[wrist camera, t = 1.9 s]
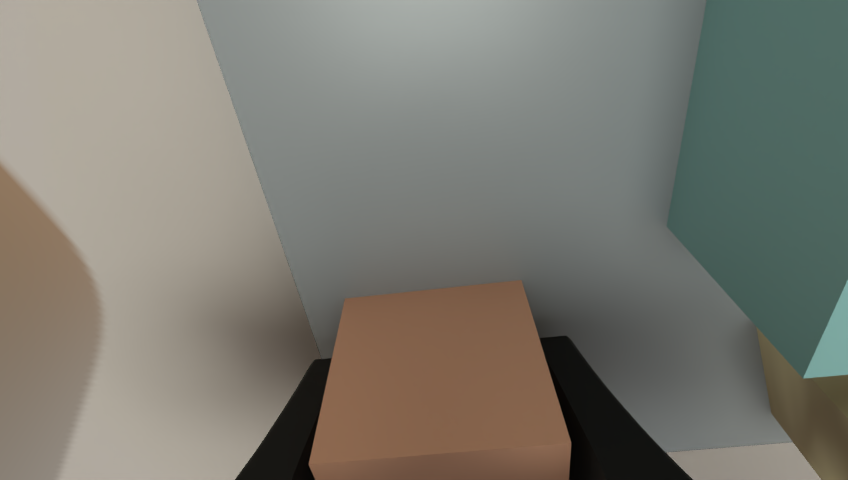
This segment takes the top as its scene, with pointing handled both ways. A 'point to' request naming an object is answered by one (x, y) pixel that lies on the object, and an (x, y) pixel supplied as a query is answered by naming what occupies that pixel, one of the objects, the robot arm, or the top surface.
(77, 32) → the top surface
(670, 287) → the baseplate
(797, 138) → the base brick
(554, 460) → the cube brick
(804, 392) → the brick
